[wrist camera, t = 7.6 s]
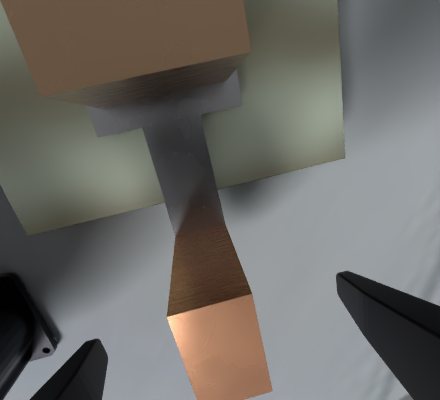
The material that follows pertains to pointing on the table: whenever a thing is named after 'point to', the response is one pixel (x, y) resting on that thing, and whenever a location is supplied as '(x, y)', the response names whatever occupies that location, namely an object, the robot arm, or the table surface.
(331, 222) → the table surface
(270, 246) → the table surface
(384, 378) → the table surface
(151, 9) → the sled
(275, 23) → the tunnel
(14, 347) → the robot arm
